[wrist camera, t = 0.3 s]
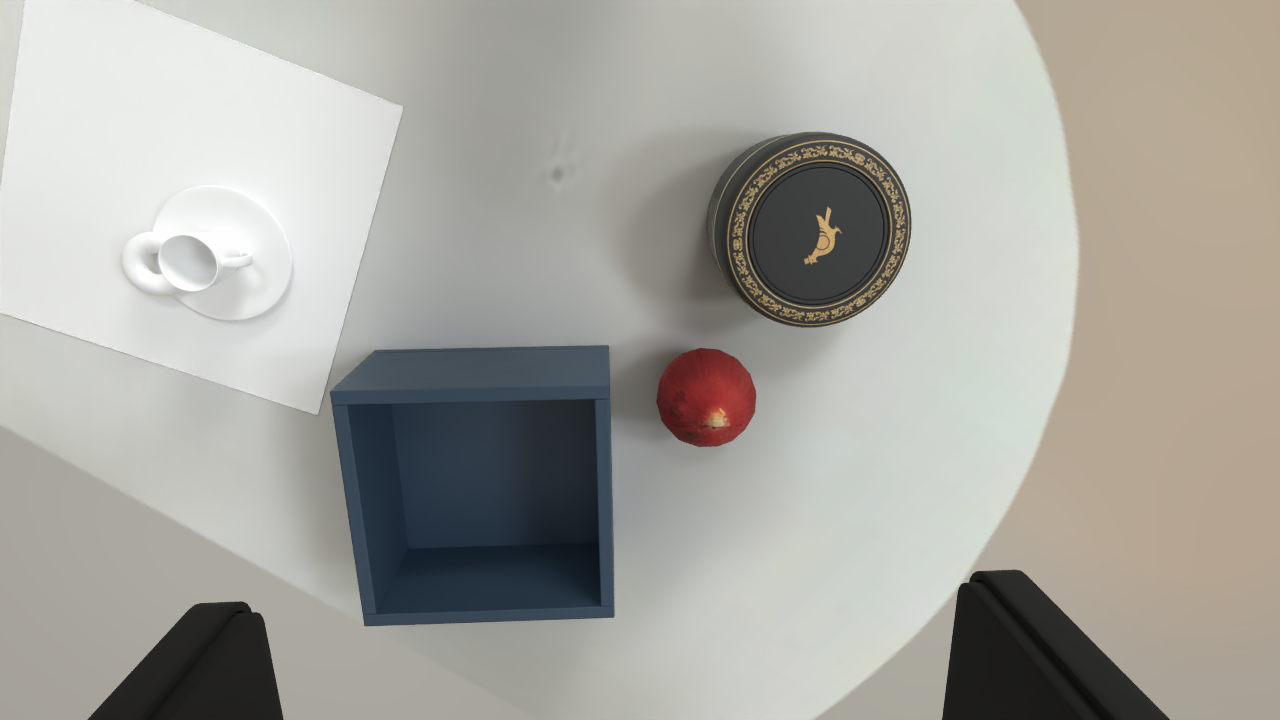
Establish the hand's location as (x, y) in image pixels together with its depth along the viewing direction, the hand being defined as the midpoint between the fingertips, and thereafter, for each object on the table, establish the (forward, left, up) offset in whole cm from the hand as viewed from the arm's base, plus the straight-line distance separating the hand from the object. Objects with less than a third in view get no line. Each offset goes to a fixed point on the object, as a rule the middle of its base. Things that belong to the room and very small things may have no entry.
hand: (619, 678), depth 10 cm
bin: (+13, -8, -35) cm, 38 cm away
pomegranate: (+8, +5, -36) cm, 37 cm away
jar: (-2, +10, -36) cm, 37 cm away
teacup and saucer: (-3, -25, -36) cm, 43 cm away
